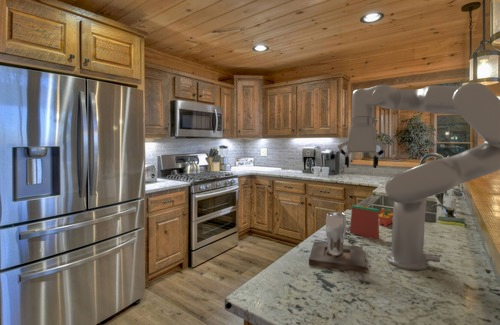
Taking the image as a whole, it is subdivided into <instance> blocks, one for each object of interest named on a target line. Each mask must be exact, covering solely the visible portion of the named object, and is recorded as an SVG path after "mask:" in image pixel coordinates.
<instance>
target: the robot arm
mask: <svg viewBox="0 0 500 325" xmlns="http://www.w3.org/2000/svg"><path fill="white" fill-rule="evenodd" d="M374 107H379V108H384V109H387V110H388V109H389V110H398V111H410V112H413V111H414V112H420V113H430V114H431V113H432V114H444V115H453V116H454V115H455V116H461V117H462V119H464V121H466V123H467V124H468V125H469V126H470V127H471V128H472V129H473V130H474V131H475V132H476V133H477V135H479V137H480V138H481V139H482V140H484V141H483V143H481V144H478V145H477V146H475V147H472V148H470V149H467V150H464V151H462V152H460V153H457V154H454V155H451V156H449V157H448V156H447V157H446V158H439V159H434V160H431V161H430V160H429V161H427V162H426V163H422V164H420V165H419V164H418V165H416V166H414V167H412V168H408V169H407V170H404V171H401V172H398V173H396V174H394V175H392V176H391V177H390V178H388V179H387V181H386V183H385V187H384V189H385V194H386V195H387V197H388V198H389V199H390V200H391V201H393V209H392V213H393V221H392V229H391V230H392V231H391V234H392V235H391V251H390V252H389V253H387V254H386V256H385V257H386V258H385V259H386V261H387V262H388V263H390V264H391V265H393V266H395V267H399V268H400V269H401V268H402V269H406V270H409V271H410V270H412V271H423V270H427V269H428V267H429V262H435V263H441V258H440V256H439V255H434V254H433V253H426V252H425V250H424V241H425V223H426V222H425V220H426V207H427V199H428V198H429V197H433V196H437V195H439V194H442V193H445V192H448V191H449V190H450V191H451V190H452V189H454V188H456V187H457V186H459V185H461V184H464V183H466V182H467V183H468V182H470V181H472V180H477V179H479V178H482V177H485V176H487V175H490V174H492V173H496V172H498V171H500V98H499V97H498V96H497V95H496V94H495V93H494V92H493V91H492V90H491V89H490V88H489V87H488V86H487V85H485V84H483V83H480V82H469V83H466V84H463V85H436V84H435V85H428V86H425V87H422V88H417V89H409V88H408V89H407V88H405V89H404V88H403V89H402V88H395V87H392V86H389V85H387V84H378V85H375V86H371V87H368V88H359V89H358V88H357V89H355V90H353V92H352V98H351V126H349V127H348V132H347V141H344V142H342V143H340V144H338V145H337V149H338V150H339V151H340V153H341V154H342V155H343V156H344V165H345V166H346V168H349V167H350V157H349V155H350V154H351V153H372V155H373V158H372V167H373V168H374V169H376V168H377V166H379V157H380V156H381V155H383V154H384V152H385V151H386V149H387V148H388V147H387V145H386V144H384V143H382V142H380V141H378V140H377V132H376V126H375V125H374V124H376V123H378V118H374ZM345 146H347V147H346V148H347V151H344V149H343V147H345ZM377 146H379V147H380V148H381V149H380V150H379V151H378V152H377Z"/></svg>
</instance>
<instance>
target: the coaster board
mask: <svg viewBox="0 0 500 325" xmlns="http://www.w3.org/2000/svg"><path fill="white" fill-rule="evenodd" d="M312 243H313V244H312V246H311V247H312V248H311V250H310V254H309V258H308V266H312V267H313V266H314V267H319V268H321V267H322V268H328V269H335V270H342V271H349V272H357V273H362V274H363V273H364V274H367V264H366V260H365V255H364V248H363V246H358V245H357V246H356V245H349V244H343V252H344V257H343V258H336V257H329V256H327V254H326V252H327V247H328V242H321V241H313V242H312Z"/></svg>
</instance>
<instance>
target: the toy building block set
mask: <svg viewBox="0 0 500 325" xmlns="http://www.w3.org/2000/svg"><path fill="white" fill-rule="evenodd" d="M379 210H380V209H377V208H374V207H373V208H372V207H369V206H367V205H366V204H364V205H363V206H361V205H355V204H352V205H351V214H350V215H351V216H350V225H349V227H350V228H349V233H350V234H355V235H357V236H361V237H365V238H370V239H375V240H378V239H380V226H382V224H383V227H387V225H388V224H389V225H391V224H393V212H392V209H389V208H383V207H382V208H381V210H380V211H379ZM379 212H380V213H379ZM389 225H388V226H389Z"/></svg>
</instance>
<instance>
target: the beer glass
mask: <svg viewBox="0 0 500 325" xmlns="http://www.w3.org/2000/svg"><path fill="white" fill-rule="evenodd" d="M325 218H326V219H325V233H326V234H325V235H326V240H327V243H328V247H327V252H326V254H327V256H329V257H336V258H343V257H344V252H343V245H344V242H345V237H346V232H347V215H346V213H343V212H339V211H337V212H336V211H335V212H334V211H329V212H326V217H325Z"/></svg>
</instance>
